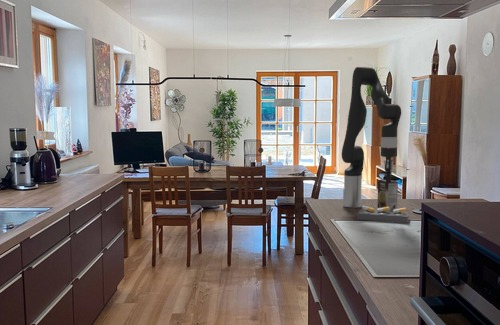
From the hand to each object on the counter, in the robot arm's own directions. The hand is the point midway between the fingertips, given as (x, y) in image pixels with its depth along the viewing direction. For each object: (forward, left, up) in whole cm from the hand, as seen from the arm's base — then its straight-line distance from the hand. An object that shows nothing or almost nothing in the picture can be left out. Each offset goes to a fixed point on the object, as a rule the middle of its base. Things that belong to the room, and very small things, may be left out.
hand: (388, 182), depth 228 cm
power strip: (-2, -2, -18) cm, 18 cm away
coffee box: (-2, +18, -18) cm, 26 cm away
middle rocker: (-2, 0, -14) cm, 14 cm away
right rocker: (+6, 0, -14) cm, 15 cm away
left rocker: (-9, 0, -14) cm, 17 cm away
